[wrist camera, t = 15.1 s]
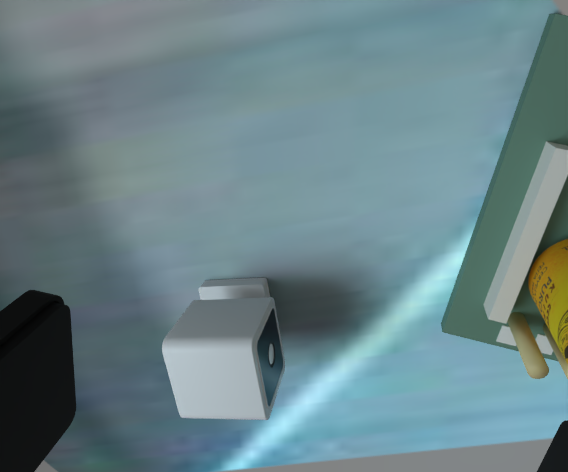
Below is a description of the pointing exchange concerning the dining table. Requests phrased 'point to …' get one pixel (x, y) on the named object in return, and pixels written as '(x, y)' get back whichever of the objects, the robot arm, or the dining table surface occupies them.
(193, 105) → the dining table surface
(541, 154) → the board
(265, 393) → the security camera
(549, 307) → the beer can
